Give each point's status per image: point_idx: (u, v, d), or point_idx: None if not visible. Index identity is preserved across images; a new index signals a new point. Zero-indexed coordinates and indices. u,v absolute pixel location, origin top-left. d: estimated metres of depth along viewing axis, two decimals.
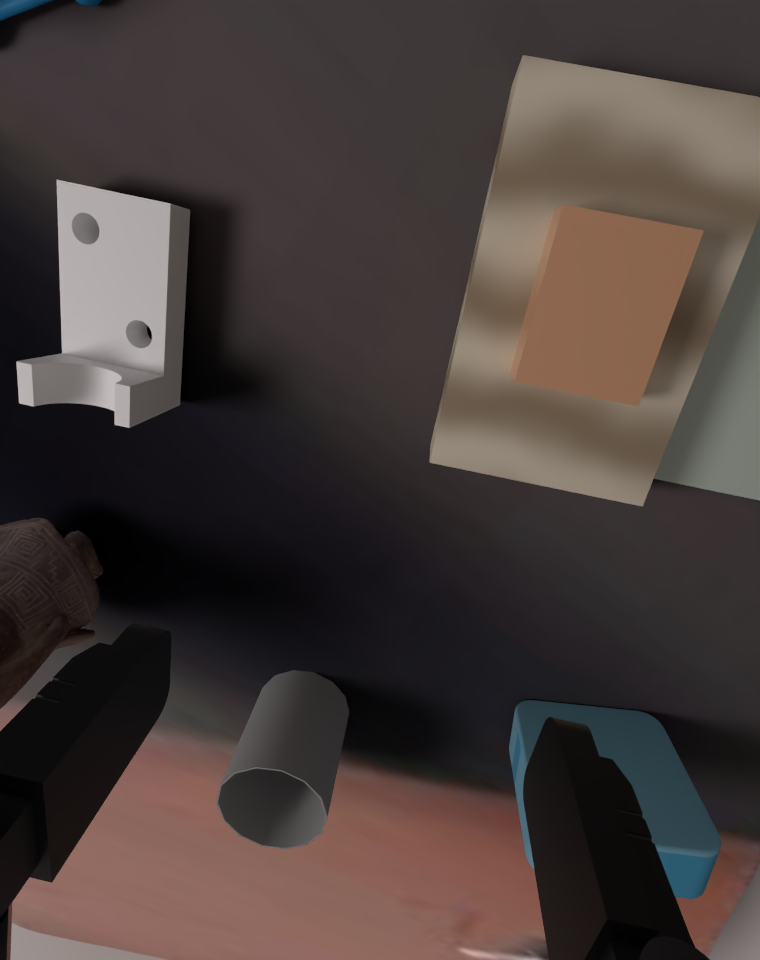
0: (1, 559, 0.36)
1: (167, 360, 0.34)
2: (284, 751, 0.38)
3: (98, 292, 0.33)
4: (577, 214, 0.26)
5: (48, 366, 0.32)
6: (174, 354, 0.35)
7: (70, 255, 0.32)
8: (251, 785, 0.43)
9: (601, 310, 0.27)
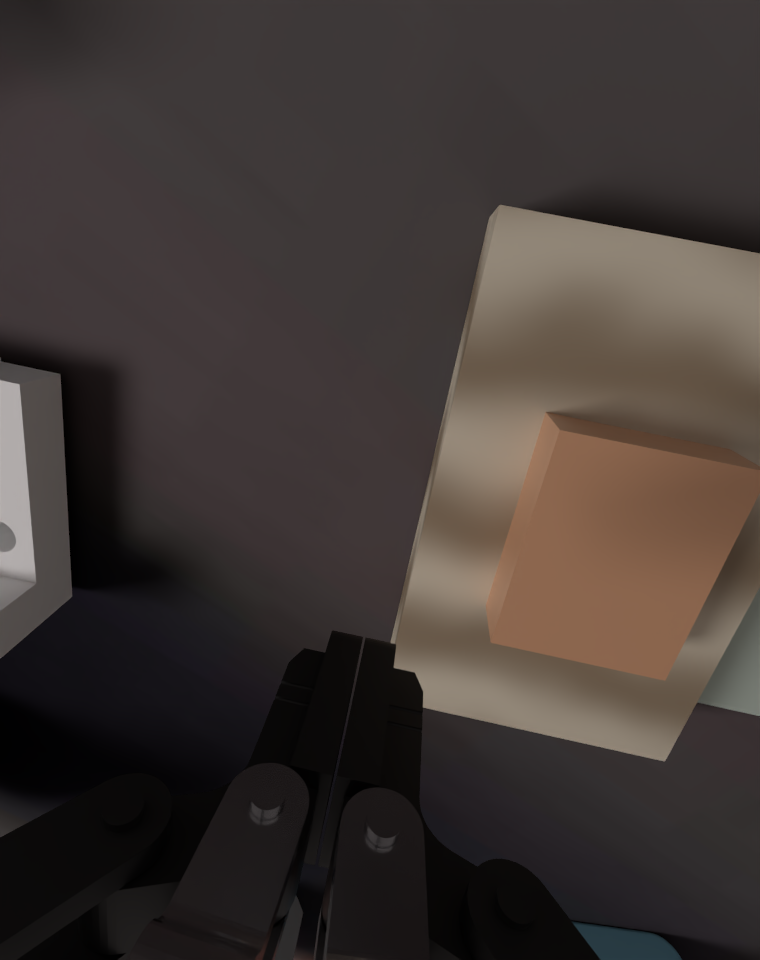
0: None
1: (41, 563, 0.26)
2: None
3: None
4: (580, 444, 0.17)
5: None
6: (53, 549, 0.27)
7: None
8: None
9: (613, 564, 0.19)
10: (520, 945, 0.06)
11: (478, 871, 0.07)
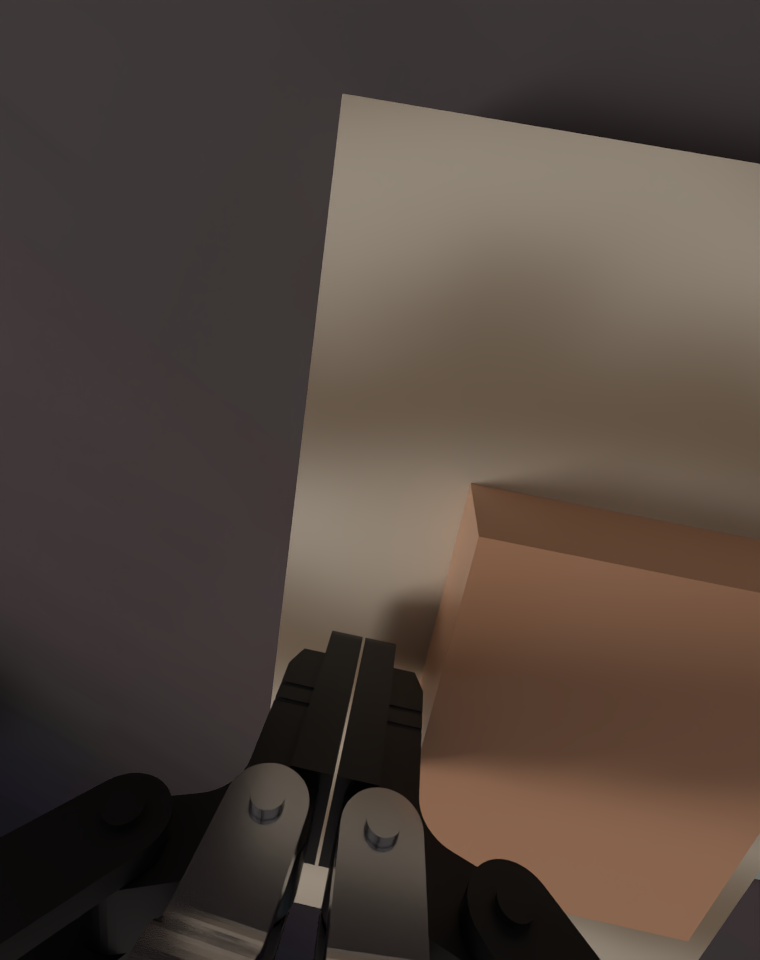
0: None
1: None
2: None
3: None
4: (520, 562, 0.09)
5: None
6: None
7: None
8: None
9: (593, 767, 0.10)
10: (520, 945, 0.06)
11: (478, 871, 0.07)
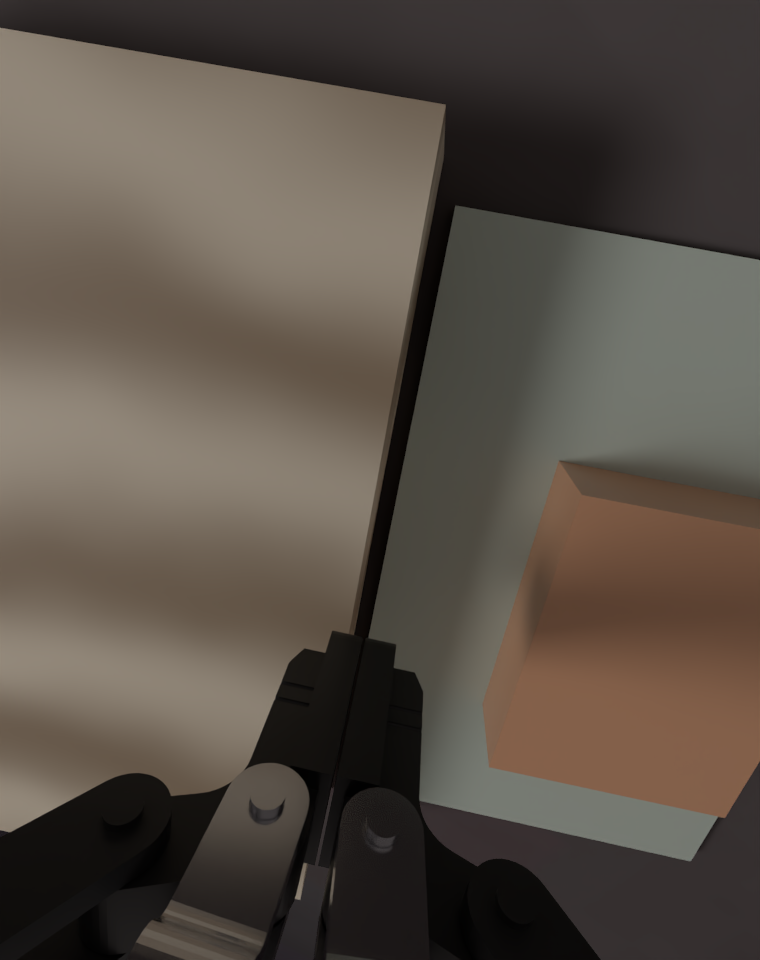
0: None
1: None
2: None
3: None
4: None
5: None
6: None
7: None
8: None
9: None
10: (520, 945, 0.06)
11: (478, 871, 0.07)
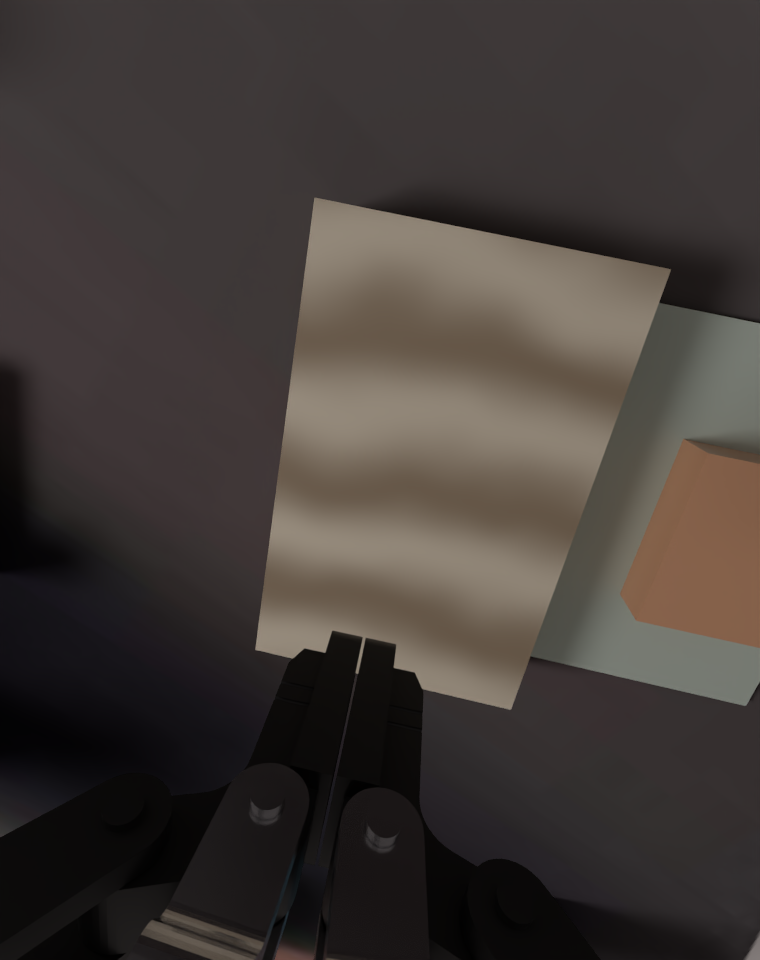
0: None
1: None
2: None
3: None
4: None
5: None
6: None
7: None
8: None
9: None
10: (520, 945, 0.06)
11: (479, 871, 0.07)
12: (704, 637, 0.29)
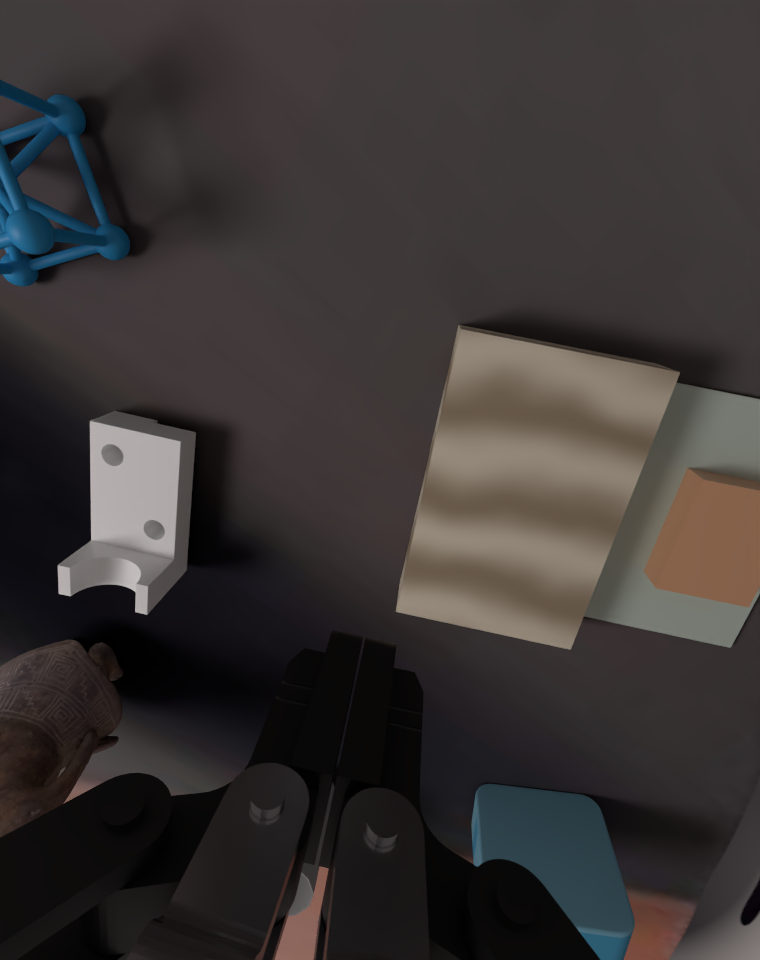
0: (41, 684, 0.43)
1: (177, 547, 0.42)
2: None
3: (121, 499, 0.41)
4: None
5: (82, 563, 0.40)
6: (182, 539, 0.43)
7: (99, 472, 0.40)
8: None
9: None
10: (520, 945, 0.06)
11: (478, 871, 0.07)
12: (701, 600, 0.42)
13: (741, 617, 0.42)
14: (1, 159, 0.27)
